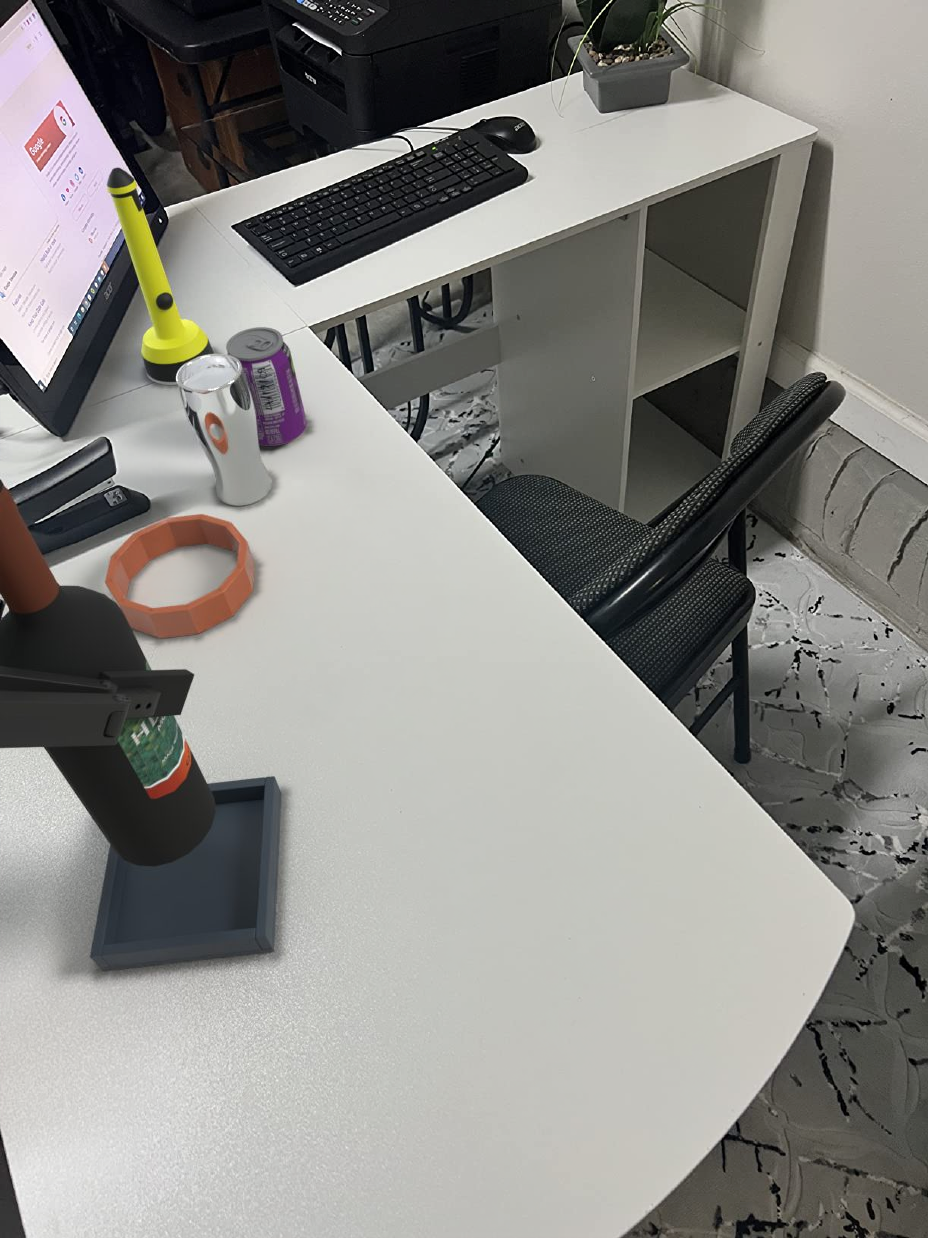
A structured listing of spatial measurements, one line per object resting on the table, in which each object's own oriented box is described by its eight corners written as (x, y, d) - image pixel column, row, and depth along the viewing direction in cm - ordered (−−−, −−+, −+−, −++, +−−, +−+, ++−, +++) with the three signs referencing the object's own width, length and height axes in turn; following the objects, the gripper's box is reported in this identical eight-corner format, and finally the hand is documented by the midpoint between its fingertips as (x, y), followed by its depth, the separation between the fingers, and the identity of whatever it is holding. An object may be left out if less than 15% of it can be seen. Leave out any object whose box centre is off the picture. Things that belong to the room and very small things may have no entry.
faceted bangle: (90, 614, 95) (77, 590, 93) (173, 527, 103) (163, 502, 101) (202, 653, 91) (192, 628, 88) (279, 558, 99) (272, 533, 96)
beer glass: (289, 480, 107) (258, 363, 96) (246, 516, 103) (209, 399, 92) (243, 461, 110) (208, 345, 99) (200, 495, 106) (159, 379, 95)
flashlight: (62, 168, 107) (93, 194, 102) (137, 144, 110) (170, 167, 105) (135, 363, 126) (164, 393, 120) (197, 338, 129) (227, 365, 124)
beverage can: (319, 421, 114) (299, 330, 105) (287, 456, 110) (264, 365, 101) (269, 409, 117) (245, 319, 108) (236, 443, 112) (208, 353, 103)
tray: (102, 971, 70) (89, 957, 68) (129, 810, 80) (119, 793, 78) (274, 952, 70) (266, 936, 69) (281, 792, 80) (274, 775, 78)
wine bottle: (118, 778, 71) (-80, 452, 49) (221, 768, 71) (68, 436, 49) (99, 872, 66) (-132, 554, 44) (209, 861, 66) (33, 538, 44)
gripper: (-407, 656, 45) (19, 654, 65) (-172, 875, 36) (235, 794, 56) (-371, 504, 44) (51, 550, 64) (-119, 692, 35) (277, 676, 55)
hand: (137, 664), depth 60 cm, fingers closed on wine bottle, 7 cm apart
